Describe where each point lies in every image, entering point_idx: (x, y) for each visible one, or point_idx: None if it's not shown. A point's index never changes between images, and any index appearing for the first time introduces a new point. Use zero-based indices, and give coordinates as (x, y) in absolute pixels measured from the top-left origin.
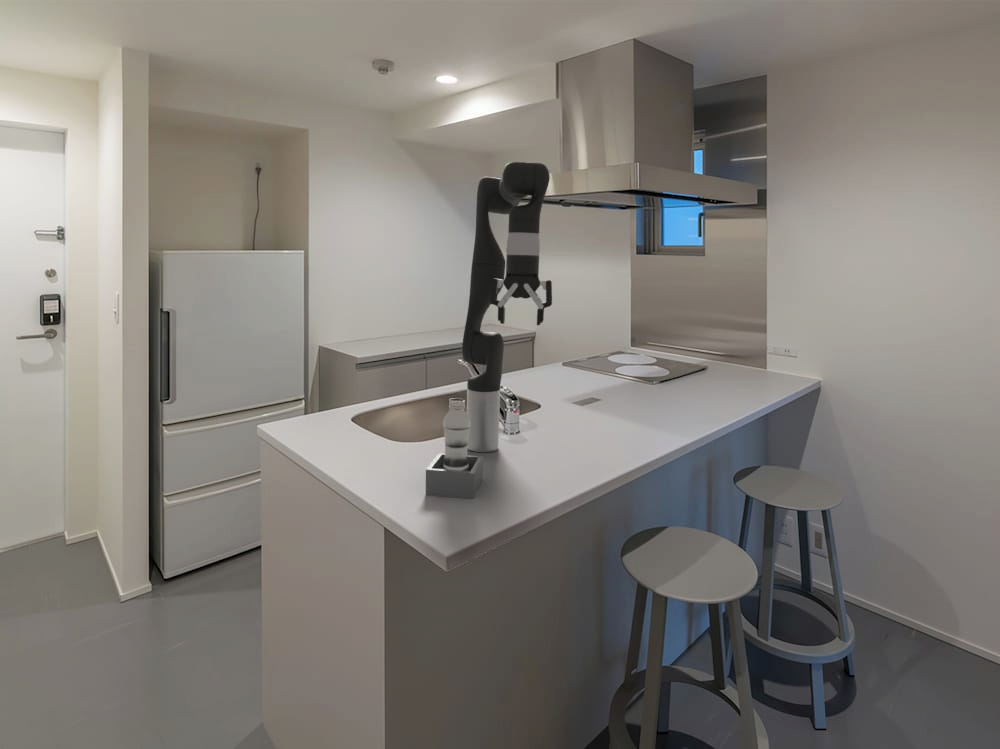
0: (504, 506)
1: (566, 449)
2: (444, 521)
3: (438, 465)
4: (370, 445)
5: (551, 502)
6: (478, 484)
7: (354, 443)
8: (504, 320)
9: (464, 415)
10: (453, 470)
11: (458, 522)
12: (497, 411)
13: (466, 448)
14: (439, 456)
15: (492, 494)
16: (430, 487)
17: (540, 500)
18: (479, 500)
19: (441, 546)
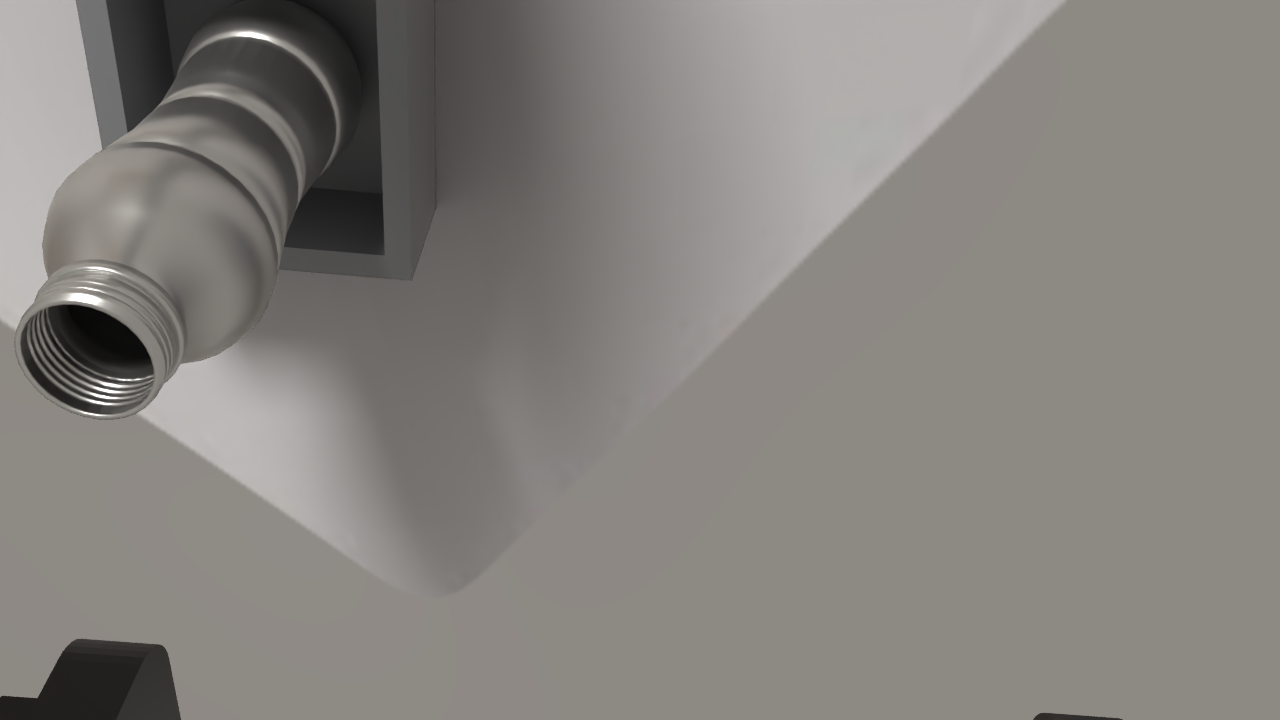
0: (603, 273)
1: None
2: (362, 433)
3: (133, 48)
4: None
5: (846, 203)
6: (430, 79)
7: None
8: (140, 697)
9: (212, 333)
10: (283, 251)
11: (422, 435)
12: None
13: (301, 193)
14: (101, 12)
15: (526, 137)
16: None
17: (789, 185)
18: (469, 220)
19: (407, 591)
